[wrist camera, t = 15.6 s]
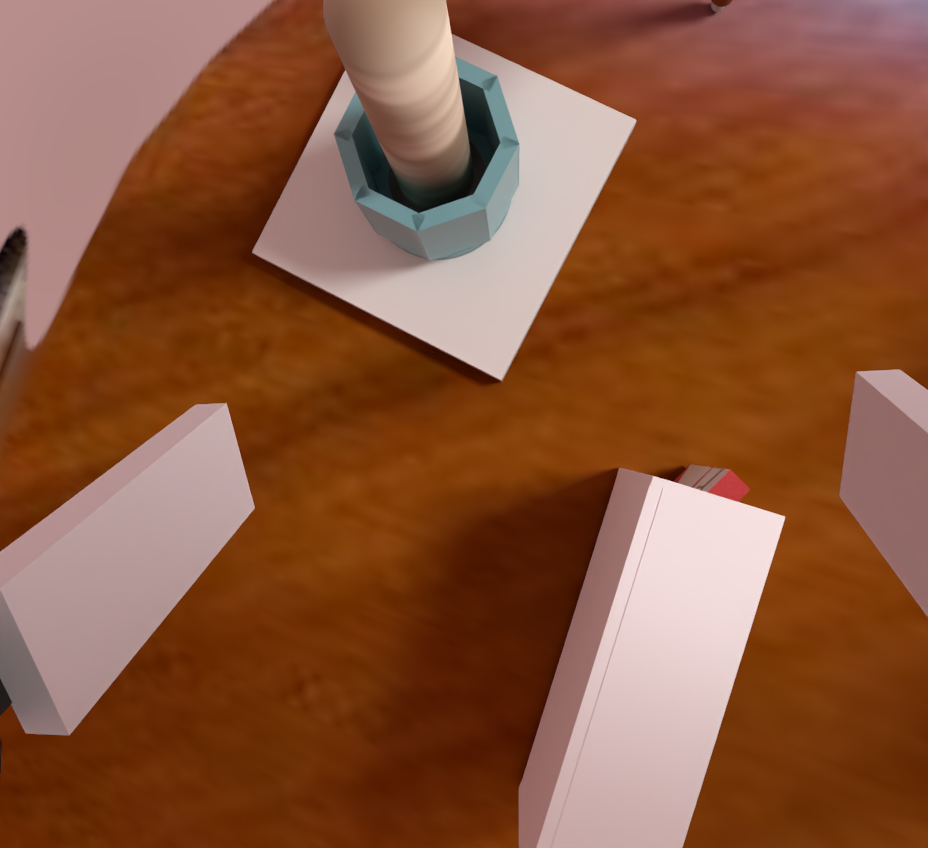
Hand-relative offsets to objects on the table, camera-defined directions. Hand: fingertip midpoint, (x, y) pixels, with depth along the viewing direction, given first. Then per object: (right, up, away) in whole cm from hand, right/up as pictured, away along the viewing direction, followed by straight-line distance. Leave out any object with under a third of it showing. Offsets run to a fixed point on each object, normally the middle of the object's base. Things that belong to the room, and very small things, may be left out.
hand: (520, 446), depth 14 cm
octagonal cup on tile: (-2, +14, +24) cm, 28 cm away
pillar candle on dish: (-3, +14, +22) cm, 26 cm away
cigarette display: (+7, -11, +23) cm, 26 cm away
